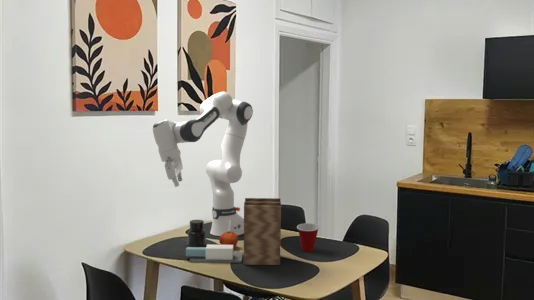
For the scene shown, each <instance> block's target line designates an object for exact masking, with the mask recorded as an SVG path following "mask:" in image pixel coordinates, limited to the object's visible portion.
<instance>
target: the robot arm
mask: <svg viewBox="0 0 534 300" xmlns="http://www.w3.org/2000/svg"><path fill="white" fill-rule="evenodd" d="M253 112H254V109H253V107H252V105H251V103H248V102H247V101H241V100H238V99H233V97H232V95H231V94H230V93H229V92H227V91H220V92H217V93H214V94H212V95H211V96H210V97H208V98H207V99H205V100H204V101H202V103H201V104H200V105H199V114H200V116H198V117H197V118H195V119H189V120H185V121H180V122H177V121H171V120H169V119H165V118H164V119H161V120H159V121H157V122H155V123H154V124H153V125H152V134H153V137H154V141H155V144H156V145H157V148H158V153H159V157H160V160H161V162H162V163H164V168H165V172H166V175H167V176H166V177H167V179H168V180H169V181H170V180H171V181H172V183H173V184H174V187H175V188H177V187H179V186H180V183H179V182H182V181H183V177H182V170H183V161H182V158H181V150H180V149H179V147H178V144H184V143H196V142H198V141H200V139H201V138H202V136H203V135H204V132H205V131H206V130H207V129H208V128H209V127H210V126H211V125H212V124H214V123H215V122H216V121H217V120H219V119H224V120H227V121H228V124H227V127H226V130H225V132H224V136H223V138H222V140H221V144H220V150H221V159H214V160H211V161H209V162H207V165H206V167H205V172H206V174H207V176H208V178H209V180H210V185H211V189H212V210H211V213H212V214H211V215H212V222H211V228H210V232H209V234H210V235H213V236H216V237H220V236H221V235H222V234H223V233H225V232H229V231H231V232H233V233H236V234H237V236H241V235H244V217H243V216H241V215H240V214H238V212H240V210H241V207H239V206H237V207H236V206H235V198H234V197H235V192H234V190H233V188H232V187H231V184H234V183H238V182H239V181H240V180H241V179H242V176H243V170H242V168H241V161H240V160H241V153H242V149H243V146H244V144H245V139H246V136H247V132H248V123H249V121H251V119H252V117H253V115H254V114H253Z"/></svg>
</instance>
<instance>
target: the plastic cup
mask: <svg viewBox="0 0 534 300" xmlns="http://www.w3.org/2000/svg"><path fill="white" fill-rule="evenodd" d="M296 229H297V231H298V235H299V243H300V247H301V251H302V252H304V253H305V252H306V253H312V252H314V250H315V245H316V243H317V236H318V231H319V229H320V226H319V224H317V223H316V224H315V223H311V222H310V223H309V222H307V223H300V224H298V225H297V226H296Z"/></svg>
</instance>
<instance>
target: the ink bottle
mask: <svg viewBox="0 0 534 300" xmlns="http://www.w3.org/2000/svg"><path fill="white" fill-rule="evenodd" d="M204 224H205V222H204V220H203V219H192V220H189V230H188V231H187V247H205V246H207V232H206V230H205V227H204V226H205V225H204Z"/></svg>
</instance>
